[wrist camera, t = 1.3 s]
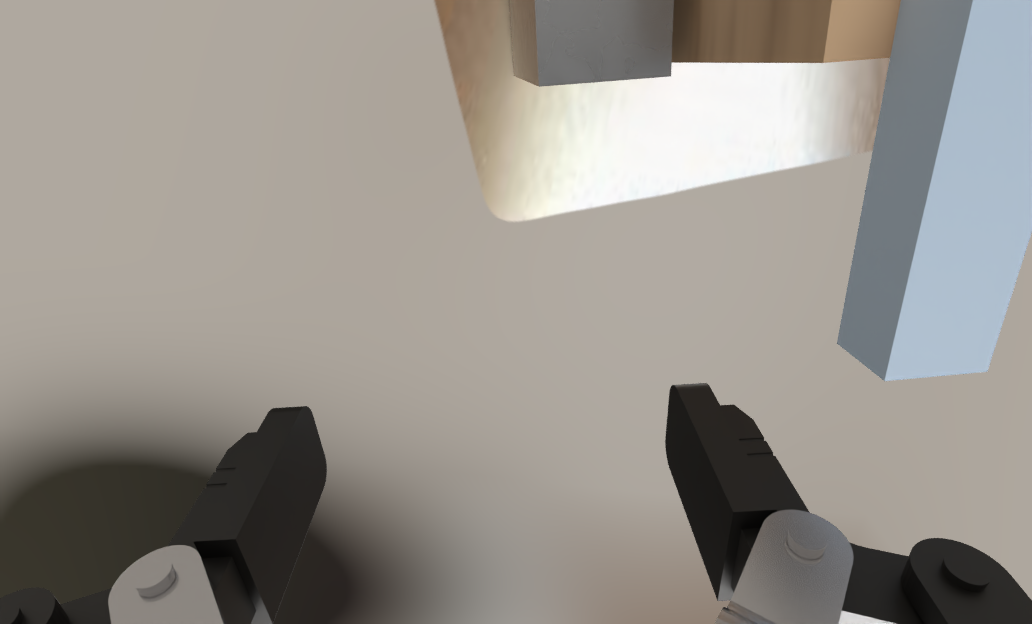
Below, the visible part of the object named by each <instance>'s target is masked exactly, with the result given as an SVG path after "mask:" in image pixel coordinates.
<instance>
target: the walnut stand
mask: <svg viewBox="0 0 1032 624" xmlns="http://www.w3.org/2000/svg"><path fill="white" fill-rule="evenodd" d="M900 2H901V0H674V11H673V36H672V61H671V62H712V63H827V62H839V61H852V60H865V59H878V58H890V56H891V51H892V45H893V40H894V35H895V29H896V24H897V18H898V13H899V8H900Z"/></svg>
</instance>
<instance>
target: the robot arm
mask: <svg viewBox="0 0 1032 624" xmlns="http://www.w3.org/2000/svg"><path fill="white" fill-rule="evenodd" d="M665 443H666V454H667V460H668V465H669V468H670V470H671V474H672V476H673V479H674V482H675V485H676V487H677V490H678V493H679V496H680V498H681V501H682V504H683V506H684V509H685V512H686V515H687V518H688V520H689V523H690V526H691V528H692V532H693V534H694V537H695V540H696V543H697V545H698V548H699V551H700V554H701V556H702V559H703V562H704V565H705V567H706V570H707V573H708V575H709V578H710V581H711V584H712V587H713V589H714V592H715V595H716V598H717V601H727V600H731V601H730V603H729V605H728V607H727V608H725V607H724V608H723V609H722V610H721V612H720V614H719V616H718V618H717V620H716V622H715V624H1032V600H1031V599H1030V598H1029V597H1028V596H1027V594H1026V593H1025V592H1024V591H1023V589H1022V588H1021V587H1020V586H1019V585H1018V583H1017V582H1016V581H1015V580H1014V579H1013V577H1012V576H1011V575H1010V574H1009V573H1008V572H1007V571H1006V570H1005V569H1004V568H1003V567H1002V566H1001V565H1000V564H999V563H998V562H996V561H995V560H994V559H992V558H991V557H990V556H988V555H986V554H985V553H983V552H981V551H979V550H977V549H975V548H973V547H971V546H969V545H966V544H964V543H961V542H957V541H954V540H948V539H943V538H931V539H926V540H922V541H920V542H918V543H917V544H916V545H915V546H914V547H913V548H912V550H911V552H910V555H909V556H903V555H899V554H894V553H889V552H884V551H880V550H875V549H869V548H865V547H862V546H857V545H855V544H852V543H849V541H848V540H847V538H846V537H845V536H844V535H843V533H842V532H841V531H840V530H838V528H837V527H835V526H834V525H833V524H831V523H830V522H828V521H826V520H825V519H823V518H821V517H819V516H817V515H815V514H812V513H810V512H809V511H808V509H807V508H806V506H805V504H804V503H803V501H802V499H801V498H800V496H799V494H798V493H797V491H796V489H795V488H794V486H793V485H792V483H791V481H790V480H789V478H788V477H787V475H786V473H785V471H784V470H783V468H782V466H781V465H780V463H779V461H778V460H777V459H776V457H775V456H773V452H772V450H771V448H770V447H769V445H768V443H767V442H766V441H764V437H763V435H762V434H761V432H760V430H759V429H758V427H757V425H756V424H755V422H754V420H753V419H752V418H750V417H749V416H748V415H746V414H745V413H744V412H743V411H741V410H740V409H739V408H737V407H736V406H735V405H721V406H720V404H719V403H718V401H717V399H716V397H715V395H714V393H713V392H712V390H711V388H710V386H709V385H708V384H707V383H699V384H683V385H672V386H671V388H670V394H669V405H668V417H667V427H666V440H665ZM326 473H327V466H326V459H325V454H324V451H323V448H322V445H321V441H320V438H319V434H318V431H317V427H316V424H315V421H314V417H313V414H312V411H311V410H310V408H309V407H307V406H303V407H286V408H273V409H271V410H270V411H269V412H268V414H267V416H266V417H265V419H264V421H263V423H262V424H261V426H260V428H259V429H258V431H257V432H254V433H247V434H246V435H245V436H243V437H242V438H241V439H240V440H239V441H238V442H236V443H235V444H234V445H233V446H232V447H231V448H229V449H228V450H227V452H226V454H225V455H224V457H223V459H222V460H221V462H220V463H219V465H218V466H217V468H216V472H214V473H213V475H212V476H211V478H210V479H209V481H208V482H207V487H206V488H204V489H203V491H202V493H201V494H200V495H199V497H198V498H197V500H196V502H195V503H194V505H193V506H192V508H191V510H190V511H189V513H188V514H187V516H186V518H185V519H184V521H183V522H182V524H181V526H180V527H179V529H178V530H177V532H176V534H175V535H174V537H173V538H172V540H171V542H170V543H169V545H168V546H167V547H164V548H161V549H158V550H156V551H153V552H151V553H149V554H147V555H145V556H144V557H142V558H140V559H139V560H137V561H136V562H135V563H133V564H132V565H131V566H130V567H128V568H127V569H126V570H125V571H124V572H123V573H122V575H121V576H120V577H119V578H118V580H117V581H116V582H115V584H114V586H113V587H112V588H110V589H107V590H105V591H101V592H98V593H95V594H92V595H89V596H86V597H82V598H79V599H76V600H73V601H70V602H67V603H64V604H59V602H58V601H57V599H56V598H55V597H54V595H53V594H52V593H51V592H50V591H49V590H46V589H44V588H28V589H23V590H19V591H16V592H13V593H11V594H8V595H6V596H4V597H2V598H0V624H273V622H274V619H275V617H276V614H277V611H278V609H279V606H280V603H281V601H282V598H283V595H284V593H285V590H286V587H287V585H288V582H289V579H290V577H291V574H292V571H293V569H294V566H295V563H296V561H297V558H298V555H299V553H300V550H301V547H302V545H303V542H304V539H305V537H306V534H307V531H308V529H309V526H310V523H311V521H312V518H313V515H314V513H315V510H316V507H317V505H318V502H319V499H320V497H321V494H322V491H323V489H324V486H325V482H326Z"/></svg>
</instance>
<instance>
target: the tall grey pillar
mask: <svg viewBox="0 0 1032 624" xmlns="http://www.w3.org/2000/svg"><path fill="white" fill-rule="evenodd" d="M509 7H510V22H511V37H512V52H513V68H514V76H516V77H518V78H520V79H523V80H525V81H527V82H530V83H532V84H534V85H537V86H552V85H565V84H578V83H591V82H603V81H616V80H629V79H642V78H655V77H667V76H671V61H672V36H673V11H674V0H509Z"/></svg>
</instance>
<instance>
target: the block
mask: <svg viewBox="0 0 1032 624" xmlns="http://www.w3.org/2000/svg"><path fill="white" fill-rule="evenodd" d="M1031 232H1032V0H901V2H900V8H899V13H898V18H897V24H896V29H895V35H894V40H893V45H892V51H891V56H890V61H889V67H888V72H887V78H886V83H885V88H884V94H883V99H882V104H881V110H880V115H879V120H878V126H877V131H876V137H875V142H874V147H873V153H872V159H871V163H870V169H869V174H868V180H867V185H866V190H865V196H864V201H863V206H862V212H861V217H860V223H859V228H858V234H857V239H856V245H855V249H854V255H853V261H852V265H851V271H850V277H849V282H848V287H847V293H846V298H845V303H844V309H843V314H842V319H841V325H840V330H839V336H838V341H837V344H838V345H840V346H841V347H842V348H844V349H845V350H846V351H847V352H849V353H850V354H851V355H852V356H854V357H855V358H856V359H858V360H859V361H860V362H861V363H862V364H864V365H865V366H866V367H867V368H869V369H870V370H871V371H872V372H874V373H875V374H876V375H878V376H879V377H880V378H881V379H883V380H884V381H890V380H901V379H912V378H923V377H934V376H945V375H956V374H967V373H977V372H987V371H988V368H989V365H990V361H991V358H992V355H993V352H994V349H995V346H996V343H997V339H998V336H999V333H1000V330H1001V327H1002V324H1003V320H1004V317H1005V314H1006V311H1007V308H1008V305H1009V302H1010V299H1011V295H1012V292H1013V289H1014V286H1015V283H1016V280H1017V276H1018V273H1019V270H1020V267H1021V264H1022V261H1023V257H1024V255H1025V251H1026V248H1027V245H1028V242H1029V239H1030V235H1031Z"/></svg>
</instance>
